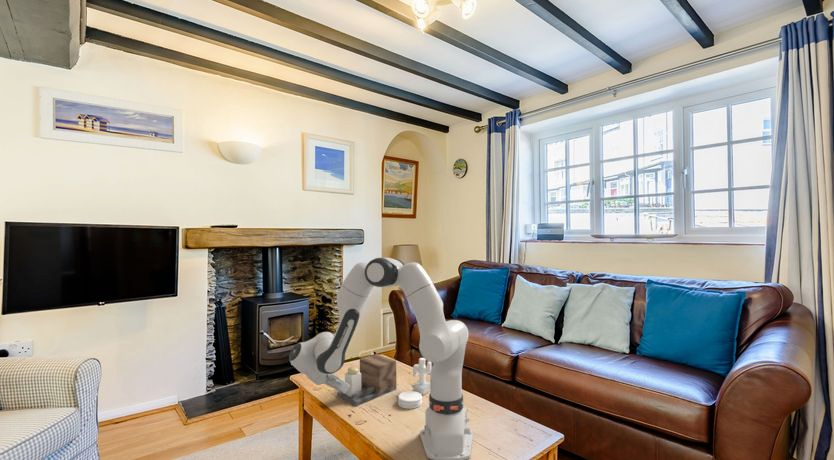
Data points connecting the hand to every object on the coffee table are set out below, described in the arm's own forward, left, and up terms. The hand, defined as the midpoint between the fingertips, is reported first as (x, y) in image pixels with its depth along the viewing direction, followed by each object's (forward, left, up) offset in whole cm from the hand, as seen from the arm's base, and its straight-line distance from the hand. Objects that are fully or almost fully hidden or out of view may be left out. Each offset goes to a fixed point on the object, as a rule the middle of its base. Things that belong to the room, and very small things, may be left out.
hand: (341, 389), depth 158 cm
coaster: (0, -29, -6) cm, 30 cm away
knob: (+5, -4, -4) cm, 7 cm away
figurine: (+11, -34, -6) cm, 36 cm away
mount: (+11, -10, -6) cm, 16 cm away
